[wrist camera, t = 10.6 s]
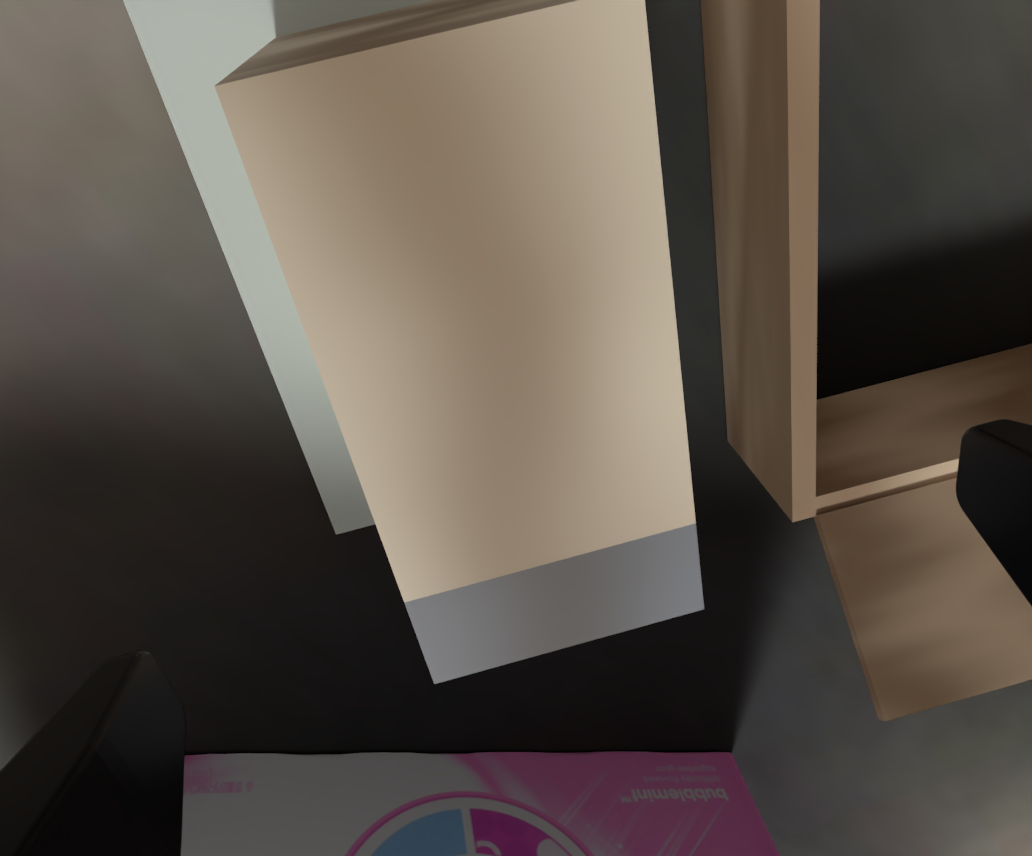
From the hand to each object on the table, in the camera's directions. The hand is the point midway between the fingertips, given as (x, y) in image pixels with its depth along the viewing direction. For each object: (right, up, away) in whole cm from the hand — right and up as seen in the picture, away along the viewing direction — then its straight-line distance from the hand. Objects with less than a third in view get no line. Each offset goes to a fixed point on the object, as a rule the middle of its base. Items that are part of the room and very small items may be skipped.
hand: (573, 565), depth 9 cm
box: (-2, +6, +10) cm, 12 cm away
